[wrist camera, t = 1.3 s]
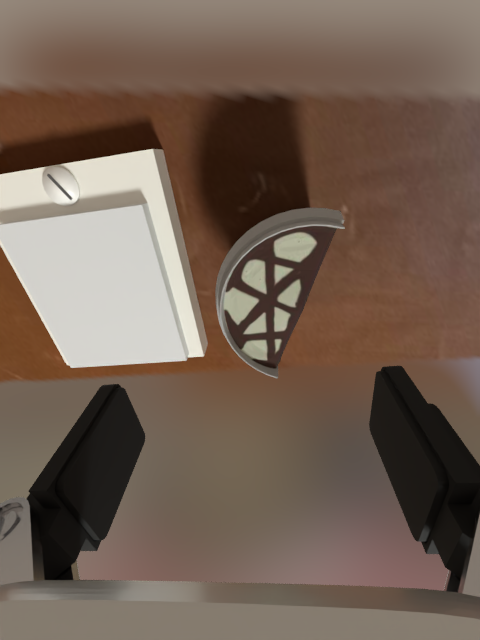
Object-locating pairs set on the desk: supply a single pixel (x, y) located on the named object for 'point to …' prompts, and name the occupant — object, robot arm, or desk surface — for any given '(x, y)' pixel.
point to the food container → (272, 282)
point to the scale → (104, 259)
